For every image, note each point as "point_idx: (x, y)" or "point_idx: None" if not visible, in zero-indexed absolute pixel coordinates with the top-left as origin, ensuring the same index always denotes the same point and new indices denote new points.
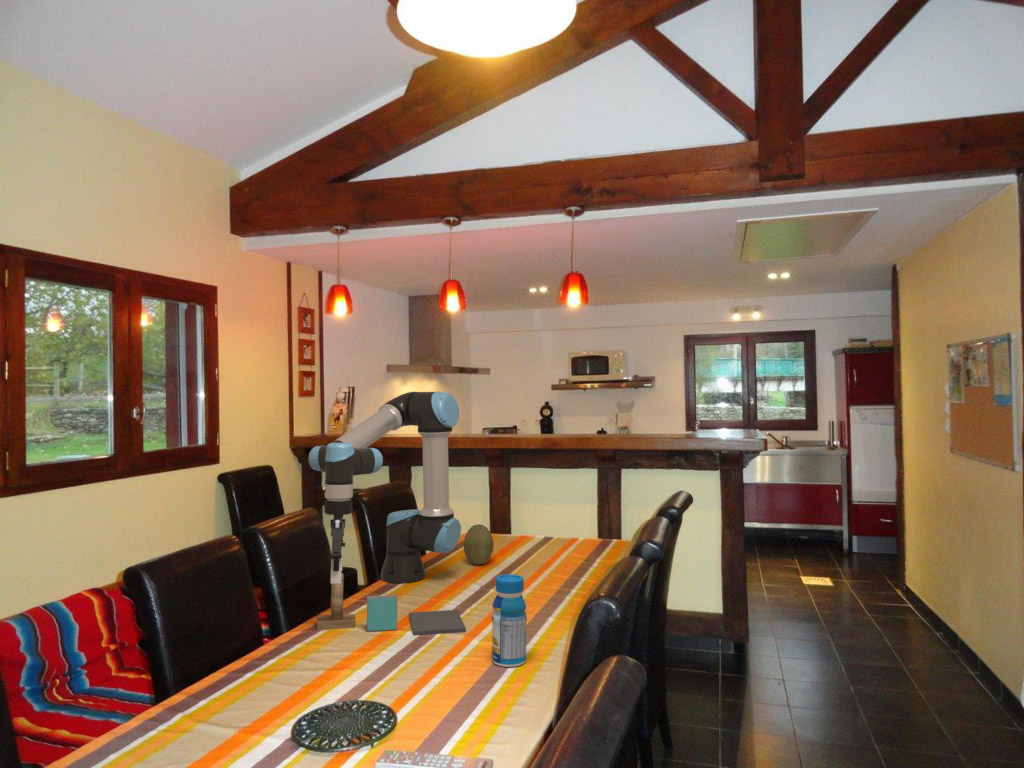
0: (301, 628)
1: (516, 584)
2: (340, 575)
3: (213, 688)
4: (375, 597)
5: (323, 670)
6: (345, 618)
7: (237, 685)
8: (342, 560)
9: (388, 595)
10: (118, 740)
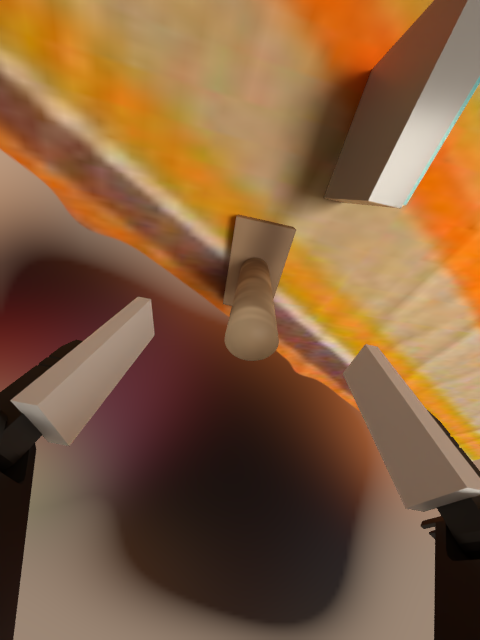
0: None
1: None
2: (395, 376)
3: None
4: (422, 157)
5: (476, 329)
6: (266, 252)
7: None
8: (107, 324)
9: (460, 38)
10: None
